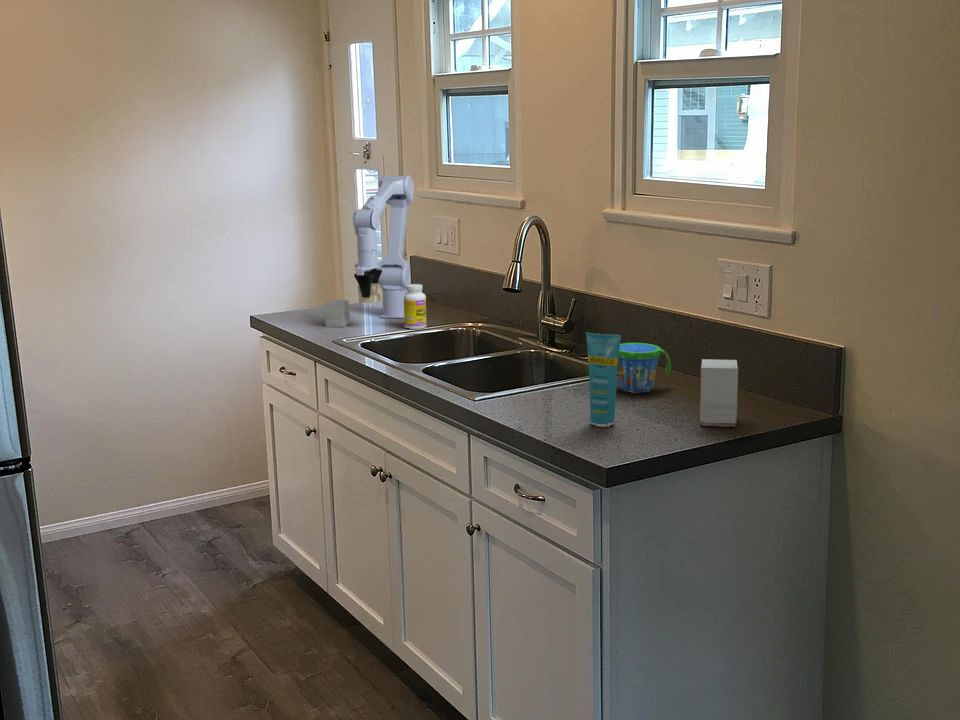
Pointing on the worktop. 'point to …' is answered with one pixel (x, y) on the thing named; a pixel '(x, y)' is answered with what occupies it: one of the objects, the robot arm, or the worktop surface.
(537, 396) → the worktop surface
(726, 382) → the supplement box
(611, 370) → the tube
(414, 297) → the supplement bottle
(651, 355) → the snack cup
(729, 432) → the worktop surface
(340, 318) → the skincare box
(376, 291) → the block
